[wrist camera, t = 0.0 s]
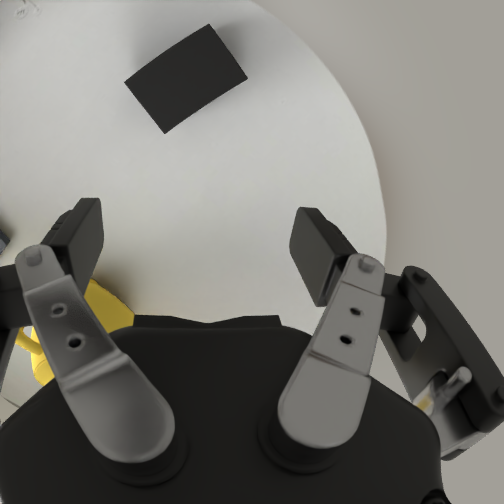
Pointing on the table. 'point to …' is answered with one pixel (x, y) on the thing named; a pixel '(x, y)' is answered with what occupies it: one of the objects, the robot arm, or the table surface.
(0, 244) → the base pad
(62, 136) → the table surface
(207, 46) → the black block
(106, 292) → the teapot
